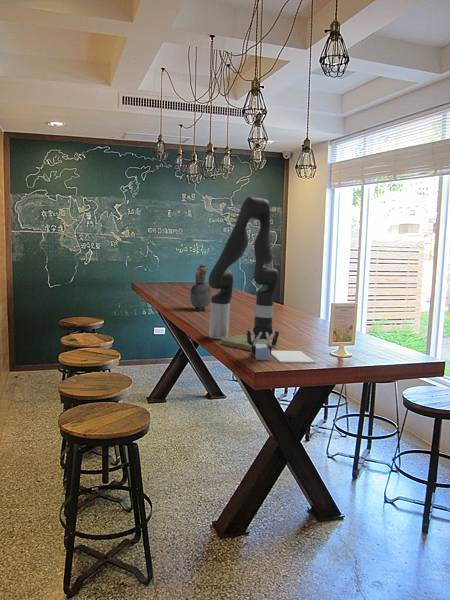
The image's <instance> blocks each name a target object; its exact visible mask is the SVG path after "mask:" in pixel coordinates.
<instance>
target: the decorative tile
mask: <svg viewBox="0 0 450 600" xmlns="http://www.w3.org/2000/svg"><path fill="white" fill-rule="evenodd" d="M254 337H255V335H251V342H252V341H253V339H254ZM220 340H221V341H220V344H221V345H223V346H228V347H231V348H235V347H236V349H240V350H244V349H245V350H244V351H248V350H249V351H248V352H251V349H252V345H249V344H248V342H247V334H240V335H233V336H230V337H229V336H228V337H227V338H225V339H220ZM272 341H273V340H271V342H272ZM256 344H266V345H268V343H267V341H266V339H259V340H258V342H257V343H256ZM274 348H277V344H276V345H273V346H272V349H274Z"/></svg>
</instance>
